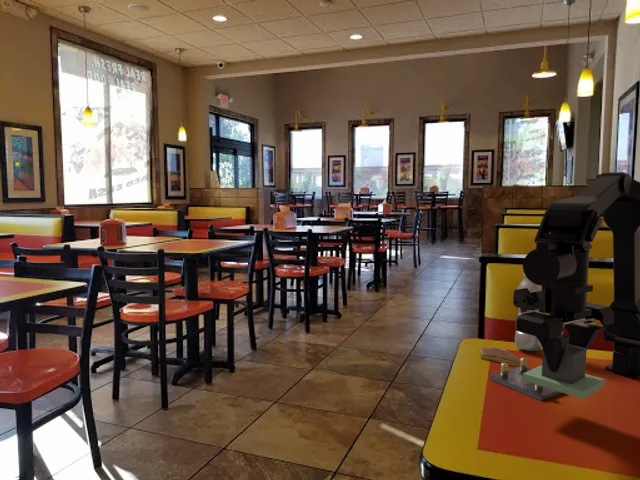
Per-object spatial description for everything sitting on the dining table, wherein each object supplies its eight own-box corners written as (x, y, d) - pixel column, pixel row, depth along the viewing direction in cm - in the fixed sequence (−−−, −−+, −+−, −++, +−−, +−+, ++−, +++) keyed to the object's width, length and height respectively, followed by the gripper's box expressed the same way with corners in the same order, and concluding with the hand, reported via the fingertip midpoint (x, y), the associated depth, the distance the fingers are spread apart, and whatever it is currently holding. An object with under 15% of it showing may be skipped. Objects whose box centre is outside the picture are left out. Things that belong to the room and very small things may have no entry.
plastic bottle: (509, 349, 120) (512, 268, 118) (522, 343, 124) (525, 265, 122) (535, 356, 115) (539, 272, 113) (547, 350, 120) (551, 268, 118)
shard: (525, 371, 107) (526, 363, 107) (491, 371, 107) (491, 363, 107) (505, 354, 118) (506, 347, 118) (474, 354, 118) (474, 347, 118)
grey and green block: (545, 369, 90) (546, 336, 89) (604, 386, 82) (606, 350, 82) (522, 380, 85) (524, 345, 84) (583, 399, 77) (585, 361, 77)
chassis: (521, 370, 106) (522, 354, 106) (573, 389, 96) (574, 372, 96) (489, 379, 101) (490, 362, 101) (541, 400, 91) (542, 382, 91)
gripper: (558, 266, 93) (554, 346, 95) (490, 275, 84) (487, 363, 86) (618, 275, 84) (613, 364, 85) (549, 286, 74) (544, 385, 76)
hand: (563, 368), depth 83 cm, fingers closed on grey and green block, 5 cm apart
